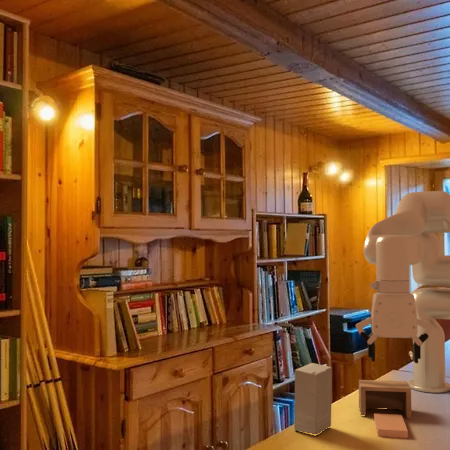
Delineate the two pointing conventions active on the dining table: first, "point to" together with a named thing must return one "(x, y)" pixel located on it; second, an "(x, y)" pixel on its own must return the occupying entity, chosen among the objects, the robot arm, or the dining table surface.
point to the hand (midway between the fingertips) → (394, 361)
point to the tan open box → (385, 395)
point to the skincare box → (313, 398)
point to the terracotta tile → (390, 425)
